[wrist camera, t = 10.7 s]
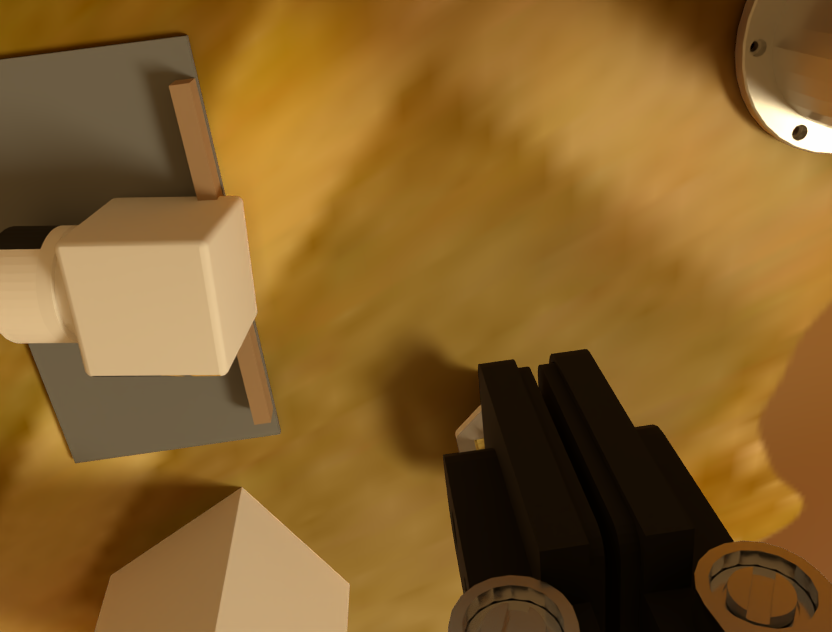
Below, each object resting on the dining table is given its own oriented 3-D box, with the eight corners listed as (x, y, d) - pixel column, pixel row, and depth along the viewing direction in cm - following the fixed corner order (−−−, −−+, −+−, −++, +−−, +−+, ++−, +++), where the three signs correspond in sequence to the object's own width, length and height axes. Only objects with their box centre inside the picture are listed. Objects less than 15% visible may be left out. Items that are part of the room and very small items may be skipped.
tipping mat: (187, 34, 37) (179, 39, 36) (280, 430, 48) (278, 449, 46) (-76, 69, 37) (-97, 75, 35) (77, 459, 48) (66, 479, 46)
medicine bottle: (259, 314, 43) (54, 316, 44) (243, 193, 40) (22, 197, 40) (227, 378, 37) (-13, 380, 37) (206, 241, 34) (-56, 244, 34)
